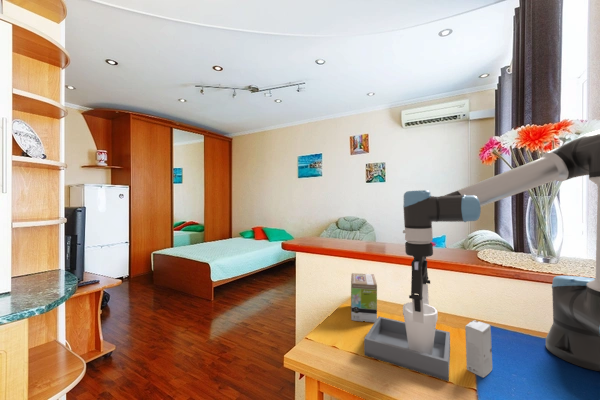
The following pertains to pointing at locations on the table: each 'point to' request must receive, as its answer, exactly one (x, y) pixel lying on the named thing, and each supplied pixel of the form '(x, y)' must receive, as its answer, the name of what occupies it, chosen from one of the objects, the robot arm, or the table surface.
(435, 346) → the tote
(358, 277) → the tea box
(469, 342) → the skincare box
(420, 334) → the foam cup
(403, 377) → the table surface
